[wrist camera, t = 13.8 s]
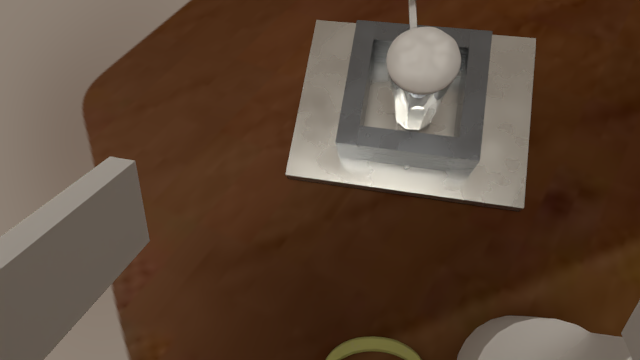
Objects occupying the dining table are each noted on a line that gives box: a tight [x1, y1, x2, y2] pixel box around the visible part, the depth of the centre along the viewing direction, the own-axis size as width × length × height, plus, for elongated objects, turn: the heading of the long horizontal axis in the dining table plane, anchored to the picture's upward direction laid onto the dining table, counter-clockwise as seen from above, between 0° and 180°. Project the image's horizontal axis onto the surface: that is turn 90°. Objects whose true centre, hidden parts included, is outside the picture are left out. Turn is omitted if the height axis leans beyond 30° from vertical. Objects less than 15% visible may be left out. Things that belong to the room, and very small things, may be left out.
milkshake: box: [386, 0, 461, 130], centre depth 32 cm, size 4×5×10 cm
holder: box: [285, 20, 536, 211], centre depth 35 cm, size 18×14×5 cm
